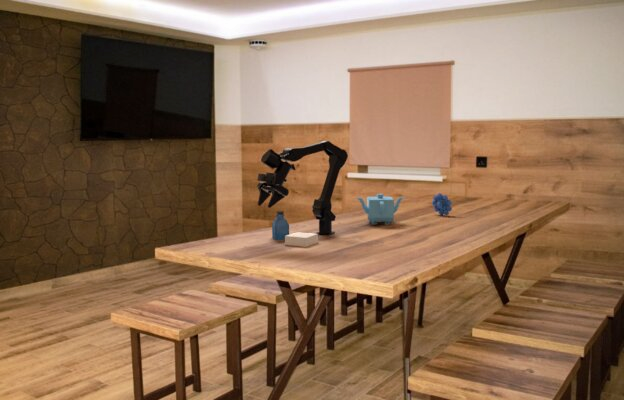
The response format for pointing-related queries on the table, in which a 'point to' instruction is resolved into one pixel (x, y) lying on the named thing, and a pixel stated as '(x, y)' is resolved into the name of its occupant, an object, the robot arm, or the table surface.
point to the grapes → (441, 204)
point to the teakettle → (380, 208)
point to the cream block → (301, 239)
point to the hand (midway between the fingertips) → (263, 206)
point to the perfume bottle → (280, 227)
